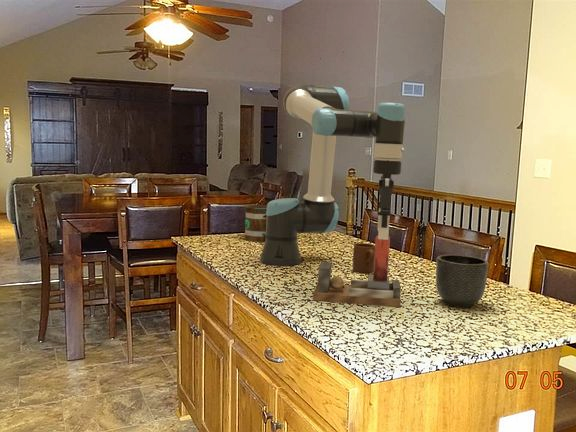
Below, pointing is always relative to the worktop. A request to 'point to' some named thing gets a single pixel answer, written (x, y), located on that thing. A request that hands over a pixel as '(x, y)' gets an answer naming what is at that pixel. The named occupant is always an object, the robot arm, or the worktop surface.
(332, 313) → the worktop surface
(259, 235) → the mug
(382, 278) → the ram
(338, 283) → the walnut
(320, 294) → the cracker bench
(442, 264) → the planter
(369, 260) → the mug
